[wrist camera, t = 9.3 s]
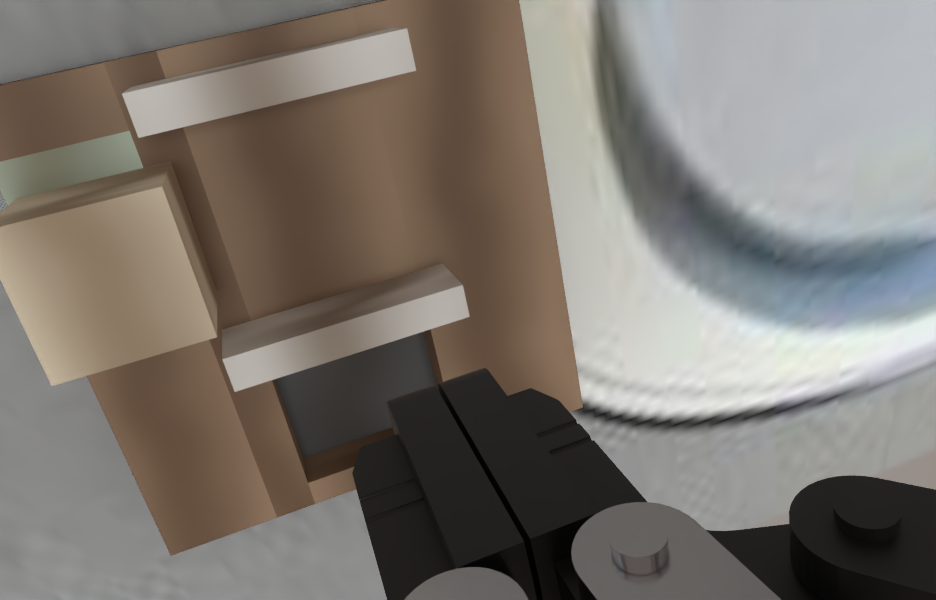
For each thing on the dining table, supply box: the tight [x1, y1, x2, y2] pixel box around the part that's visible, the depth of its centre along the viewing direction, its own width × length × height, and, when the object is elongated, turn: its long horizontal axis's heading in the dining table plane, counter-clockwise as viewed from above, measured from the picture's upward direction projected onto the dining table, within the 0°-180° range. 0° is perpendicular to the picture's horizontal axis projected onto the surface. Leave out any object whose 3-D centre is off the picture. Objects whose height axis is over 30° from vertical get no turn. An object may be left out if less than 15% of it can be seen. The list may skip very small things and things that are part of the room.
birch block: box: [0, 161, 217, 386], centre depth 22 cm, size 4×4×4 cm
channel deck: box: [0, 0, 583, 555], centre depth 26 cm, size 17×17×4 cm
